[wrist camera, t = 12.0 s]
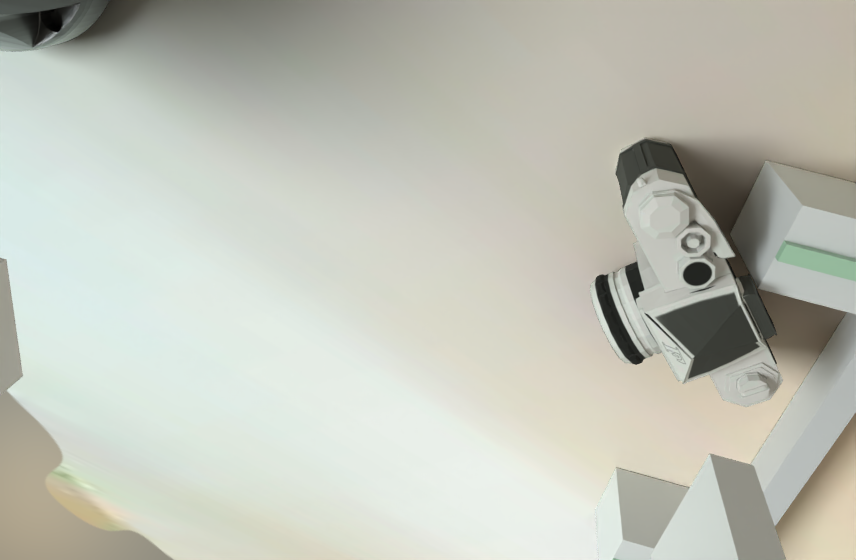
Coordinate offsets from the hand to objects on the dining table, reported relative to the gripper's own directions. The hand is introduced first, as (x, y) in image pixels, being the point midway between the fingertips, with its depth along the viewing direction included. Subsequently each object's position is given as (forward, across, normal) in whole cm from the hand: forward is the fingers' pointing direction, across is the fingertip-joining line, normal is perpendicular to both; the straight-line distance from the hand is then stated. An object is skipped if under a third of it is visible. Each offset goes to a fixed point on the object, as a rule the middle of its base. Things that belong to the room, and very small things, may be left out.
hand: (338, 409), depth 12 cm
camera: (+32, +13, -9) cm, 36 cm away
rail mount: (+32, +21, -17) cm, 42 cm away
